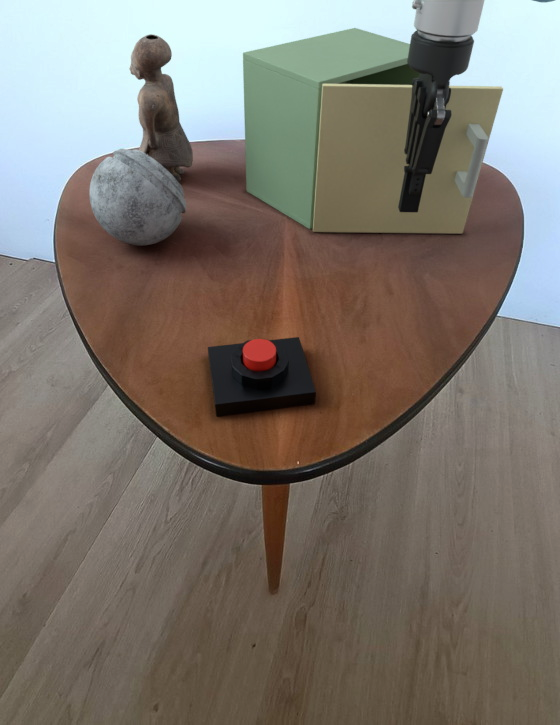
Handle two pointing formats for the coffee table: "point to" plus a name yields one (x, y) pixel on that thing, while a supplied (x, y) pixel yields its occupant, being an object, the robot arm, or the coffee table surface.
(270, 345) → the button
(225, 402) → the button block
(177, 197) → the decorative orb
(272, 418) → the coffee table surface
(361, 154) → the door
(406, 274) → the coffee table surface
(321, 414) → the coffee table surface
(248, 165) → the cupboard
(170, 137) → the clay figurine
